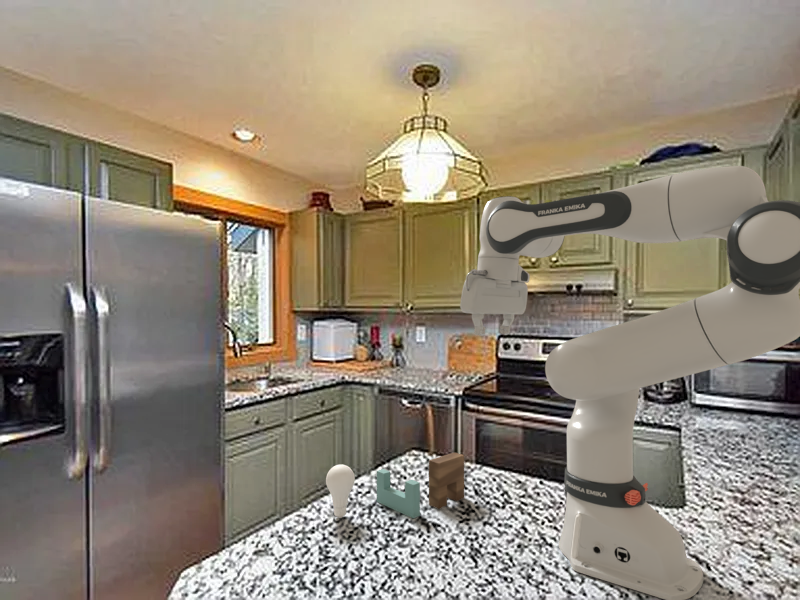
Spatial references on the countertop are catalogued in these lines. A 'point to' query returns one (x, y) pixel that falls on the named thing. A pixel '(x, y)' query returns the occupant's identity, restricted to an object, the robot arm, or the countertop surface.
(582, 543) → the robot arm
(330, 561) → the countertop surface
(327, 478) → the lightbulb
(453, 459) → the brown arch block
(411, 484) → the teal bracket
